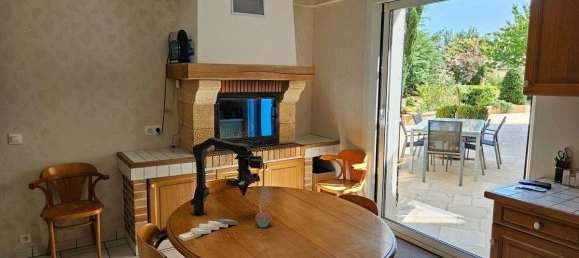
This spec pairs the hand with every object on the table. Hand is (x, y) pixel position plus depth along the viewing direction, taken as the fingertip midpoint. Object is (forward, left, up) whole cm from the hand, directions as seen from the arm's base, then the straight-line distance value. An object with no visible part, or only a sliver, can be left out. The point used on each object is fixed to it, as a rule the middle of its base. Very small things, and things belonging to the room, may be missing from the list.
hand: (243, 195), depth 215 cm
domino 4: (+4, -14, -12) cm, 19 cm away
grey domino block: (+4, -9, -12) cm, 15 cm away
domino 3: (+4, -20, -12) cm, 23 cm away
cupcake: (+16, +1, -13) cm, 20 cm away
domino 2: (+5, -25, -12) cm, 28 cm away
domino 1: (+5, -31, -12) cm, 33 cm away
